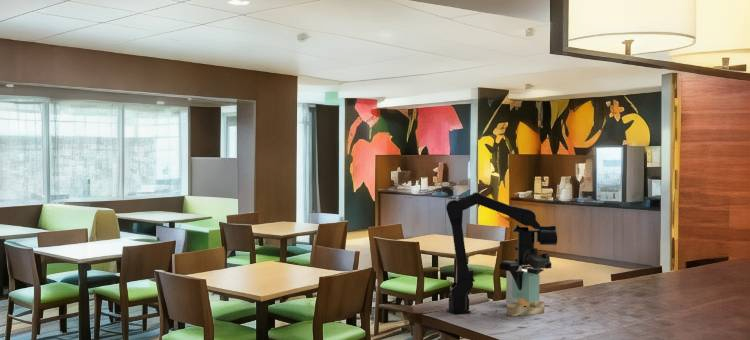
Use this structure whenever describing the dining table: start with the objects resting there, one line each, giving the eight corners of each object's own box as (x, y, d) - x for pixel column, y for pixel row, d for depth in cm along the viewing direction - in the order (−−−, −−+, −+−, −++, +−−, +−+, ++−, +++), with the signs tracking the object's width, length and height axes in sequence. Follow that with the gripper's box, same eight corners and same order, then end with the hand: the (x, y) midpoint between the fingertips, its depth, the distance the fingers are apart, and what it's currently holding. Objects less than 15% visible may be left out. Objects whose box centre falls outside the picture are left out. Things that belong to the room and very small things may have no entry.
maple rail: (512, 316, 223) (512, 304, 223) (506, 314, 225) (506, 303, 225) (544, 312, 229) (544, 301, 229) (538, 311, 231) (538, 299, 231)
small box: (518, 308, 236) (518, 272, 236) (505, 305, 241) (505, 270, 241) (533, 305, 240) (534, 270, 240) (521, 302, 246) (521, 268, 246)
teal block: (528, 302, 222) (529, 275, 222) (512, 297, 230) (512, 271, 230) (539, 301, 224) (539, 275, 224) (522, 296, 232) (522, 271, 232)
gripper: (519, 248, 216) (518, 295, 216) (562, 246, 224) (562, 291, 224) (498, 244, 226) (498, 289, 226) (541, 242, 234) (540, 286, 234)
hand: (525, 289), depth 227 cm, fingers closed on teal block, 4 cm apart
